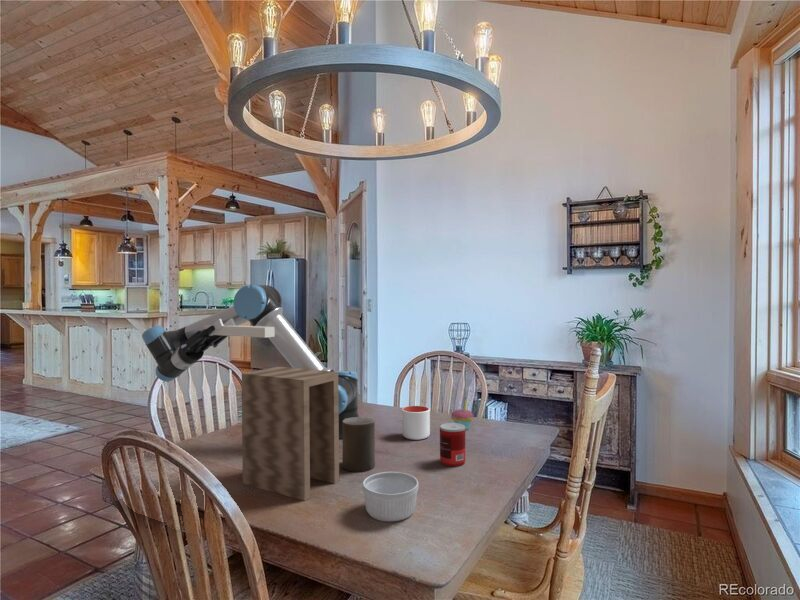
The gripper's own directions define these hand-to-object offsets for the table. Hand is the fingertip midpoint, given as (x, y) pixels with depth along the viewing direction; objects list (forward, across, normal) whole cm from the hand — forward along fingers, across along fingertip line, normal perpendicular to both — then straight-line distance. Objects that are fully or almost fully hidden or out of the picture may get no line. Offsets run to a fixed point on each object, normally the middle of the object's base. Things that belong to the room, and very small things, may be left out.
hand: (227, 322), depth 152 cm
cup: (+18, -45, -60) cm, 77 cm away
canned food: (+37, -27, -71) cm, 84 cm away
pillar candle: (+17, -11, -59) cm, 62 cm away
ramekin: (+37, +10, -71) cm, 81 cm away
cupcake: (+27, -62, -65) cm, 94 cm away
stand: (+9, +8, -54) cm, 56 cm away
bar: (+2, 0, -6) cm, 6 cm away
